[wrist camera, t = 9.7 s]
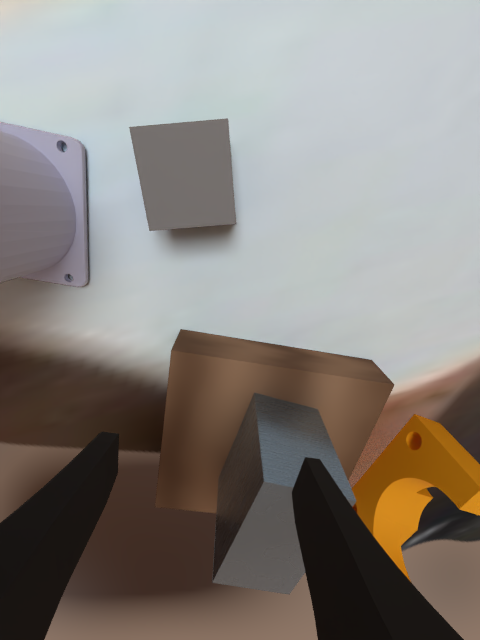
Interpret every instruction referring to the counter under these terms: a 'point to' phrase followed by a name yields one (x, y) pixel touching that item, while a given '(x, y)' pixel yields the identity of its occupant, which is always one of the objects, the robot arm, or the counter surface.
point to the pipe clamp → (414, 483)
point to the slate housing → (268, 494)
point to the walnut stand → (235, 396)
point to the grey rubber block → (185, 173)
